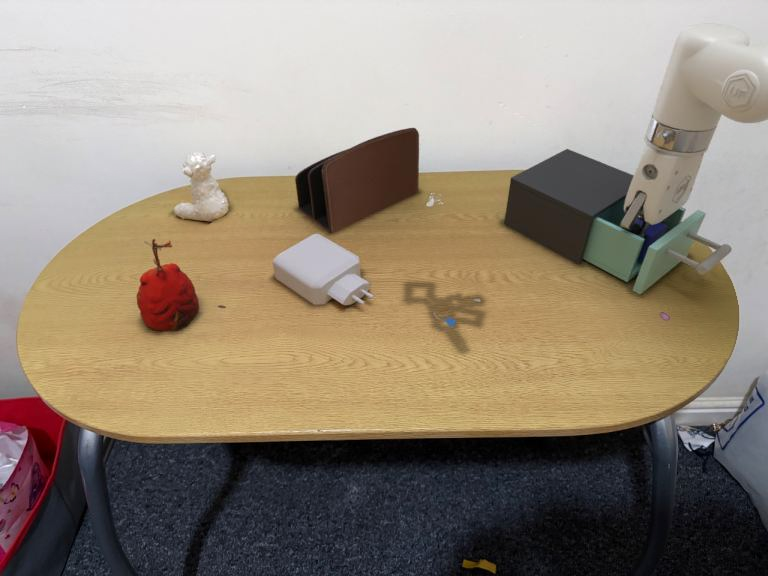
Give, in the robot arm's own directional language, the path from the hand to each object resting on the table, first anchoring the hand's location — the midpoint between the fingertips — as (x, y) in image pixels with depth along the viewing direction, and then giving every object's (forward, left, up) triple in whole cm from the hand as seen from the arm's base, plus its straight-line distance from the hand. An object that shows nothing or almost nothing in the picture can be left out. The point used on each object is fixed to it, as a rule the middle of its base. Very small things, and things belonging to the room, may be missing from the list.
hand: (637, 246), depth 80 cm
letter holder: (+46, -3, -3) cm, 46 cm away
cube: (0, 0, 0) cm, 0 cm away
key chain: (+23, +19, -3) cm, 30 cm away
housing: (+10, -6, -3) cm, 12 cm away
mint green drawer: (-1, +1, -2) cm, 3 cm away
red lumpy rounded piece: (+59, +33, -3) cm, 68 cm away
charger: (+41, +20, -4) cm, 46 cm away
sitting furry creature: (+70, +8, -3) cm, 71 cm away
